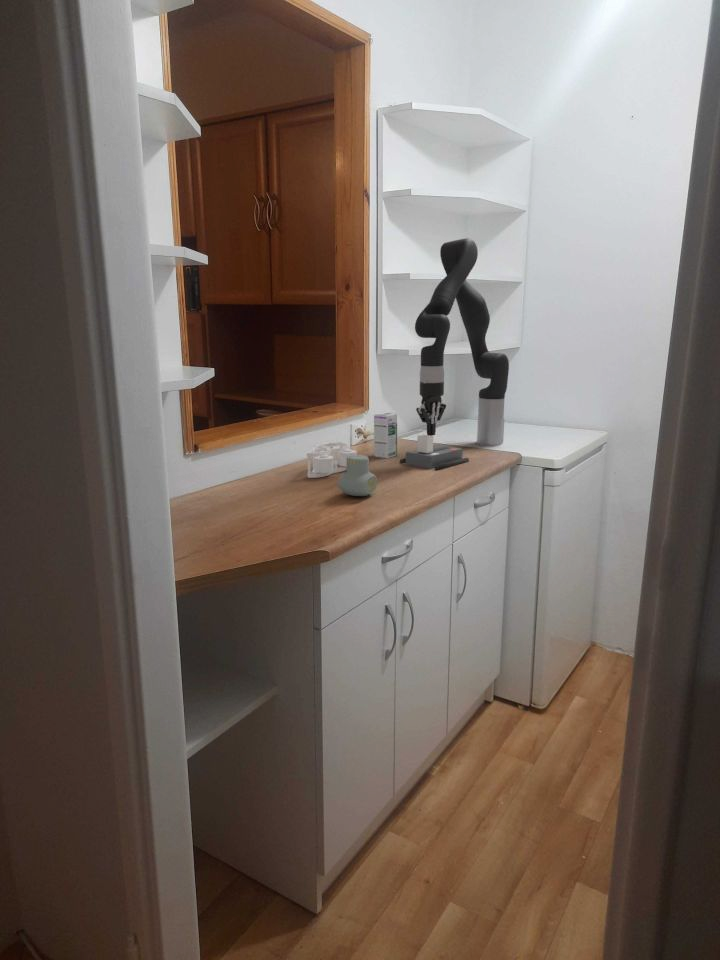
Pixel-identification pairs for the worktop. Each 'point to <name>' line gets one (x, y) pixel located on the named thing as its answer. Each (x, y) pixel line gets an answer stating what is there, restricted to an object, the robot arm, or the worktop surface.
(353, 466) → the air freshener
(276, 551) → the worktop surface
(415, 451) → the breaker panel
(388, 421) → the syrup box
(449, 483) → the worktop surface
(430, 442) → the handle
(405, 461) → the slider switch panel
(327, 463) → the skeletal toy car
